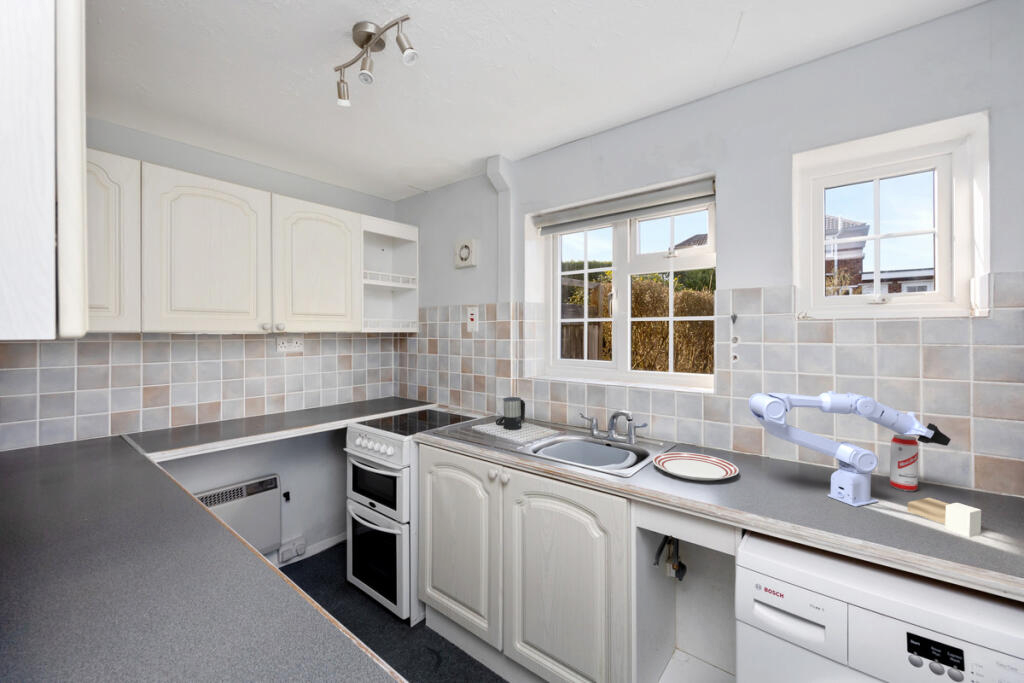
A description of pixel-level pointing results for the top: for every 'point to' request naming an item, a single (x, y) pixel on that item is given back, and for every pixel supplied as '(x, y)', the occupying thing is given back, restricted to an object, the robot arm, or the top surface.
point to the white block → (963, 519)
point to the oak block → (929, 509)
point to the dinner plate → (695, 466)
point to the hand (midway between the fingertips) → (935, 437)
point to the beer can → (904, 463)
